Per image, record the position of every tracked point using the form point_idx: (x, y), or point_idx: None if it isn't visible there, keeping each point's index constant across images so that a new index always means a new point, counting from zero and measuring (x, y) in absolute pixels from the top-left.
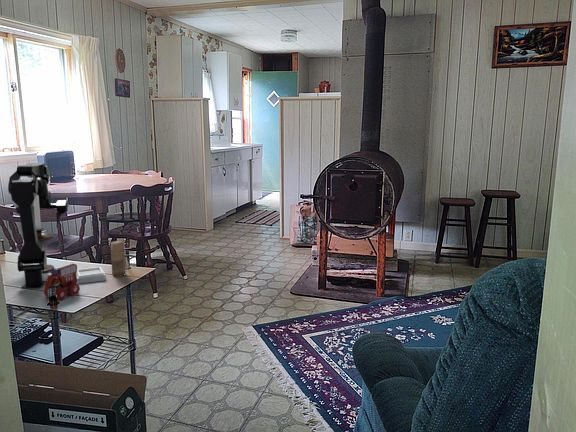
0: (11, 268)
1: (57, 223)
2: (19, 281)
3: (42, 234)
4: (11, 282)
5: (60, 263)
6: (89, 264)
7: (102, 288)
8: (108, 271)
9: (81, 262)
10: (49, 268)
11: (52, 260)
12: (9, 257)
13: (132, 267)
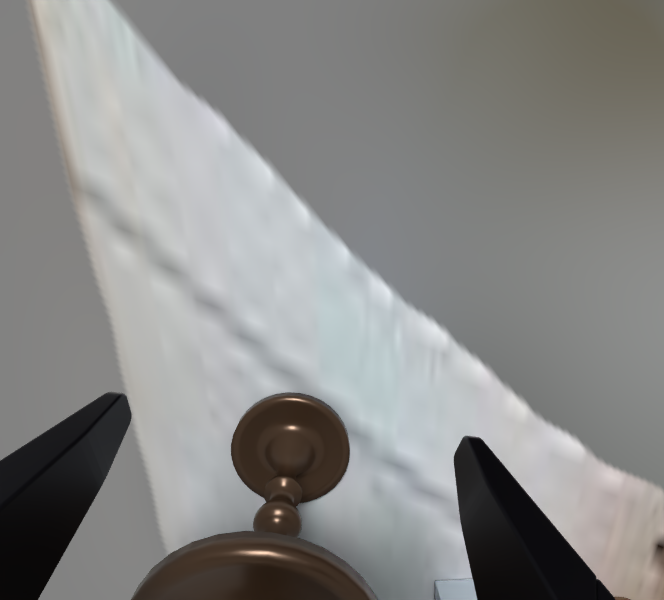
0: (140, 356)
1: (462, 474)
2: None
3: (277, 580)
4: None
5: (380, 352)
6: (520, 425)
7: None
8: None
9: (487, 373)
10: (327, 458)
11: (338, 271)
12: (76, 91)
13: None
